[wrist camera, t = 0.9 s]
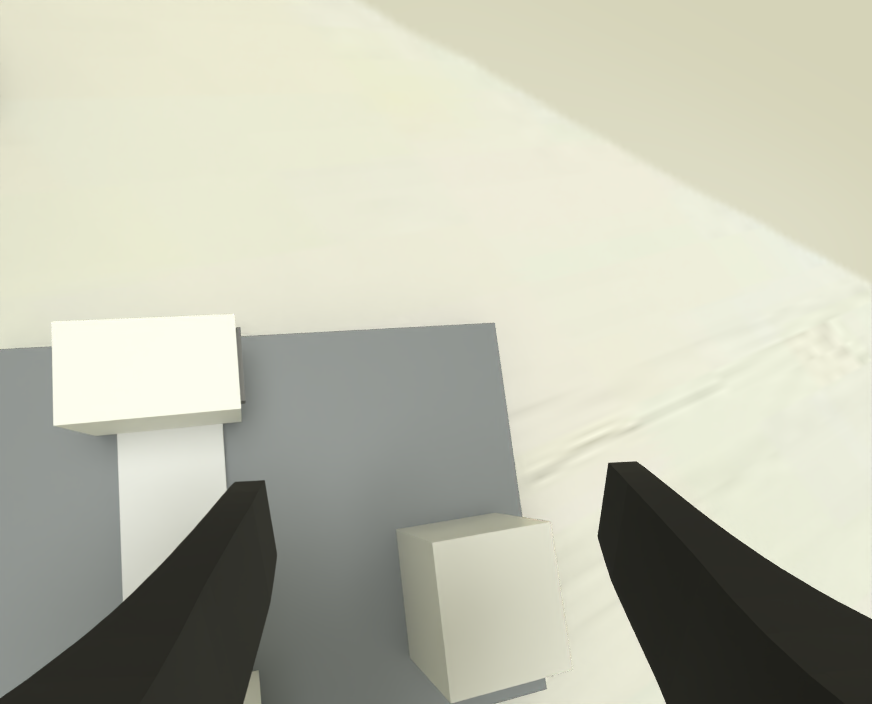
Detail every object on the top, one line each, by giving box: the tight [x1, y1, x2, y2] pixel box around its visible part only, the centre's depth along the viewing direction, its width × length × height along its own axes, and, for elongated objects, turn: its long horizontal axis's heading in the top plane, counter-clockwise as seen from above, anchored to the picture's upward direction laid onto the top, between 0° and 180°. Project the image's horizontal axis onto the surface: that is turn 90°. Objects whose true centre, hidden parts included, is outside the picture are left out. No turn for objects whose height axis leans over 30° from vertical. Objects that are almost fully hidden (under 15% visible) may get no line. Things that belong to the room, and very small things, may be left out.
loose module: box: [396, 513, 573, 703], centre depth 22 cm, size 5×4×5 cm
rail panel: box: [0, 314, 547, 704], centre depth 21 cm, size 16×20×7 cm
